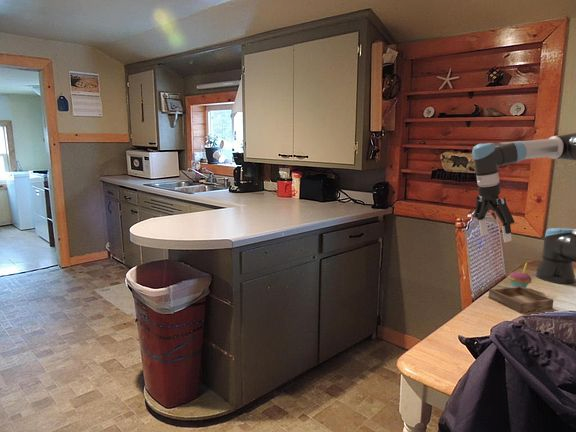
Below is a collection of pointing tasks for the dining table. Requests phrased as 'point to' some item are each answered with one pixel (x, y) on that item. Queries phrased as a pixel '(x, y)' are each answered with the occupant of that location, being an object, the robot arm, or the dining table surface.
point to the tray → (520, 299)
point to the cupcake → (519, 278)
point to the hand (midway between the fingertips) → (495, 238)
